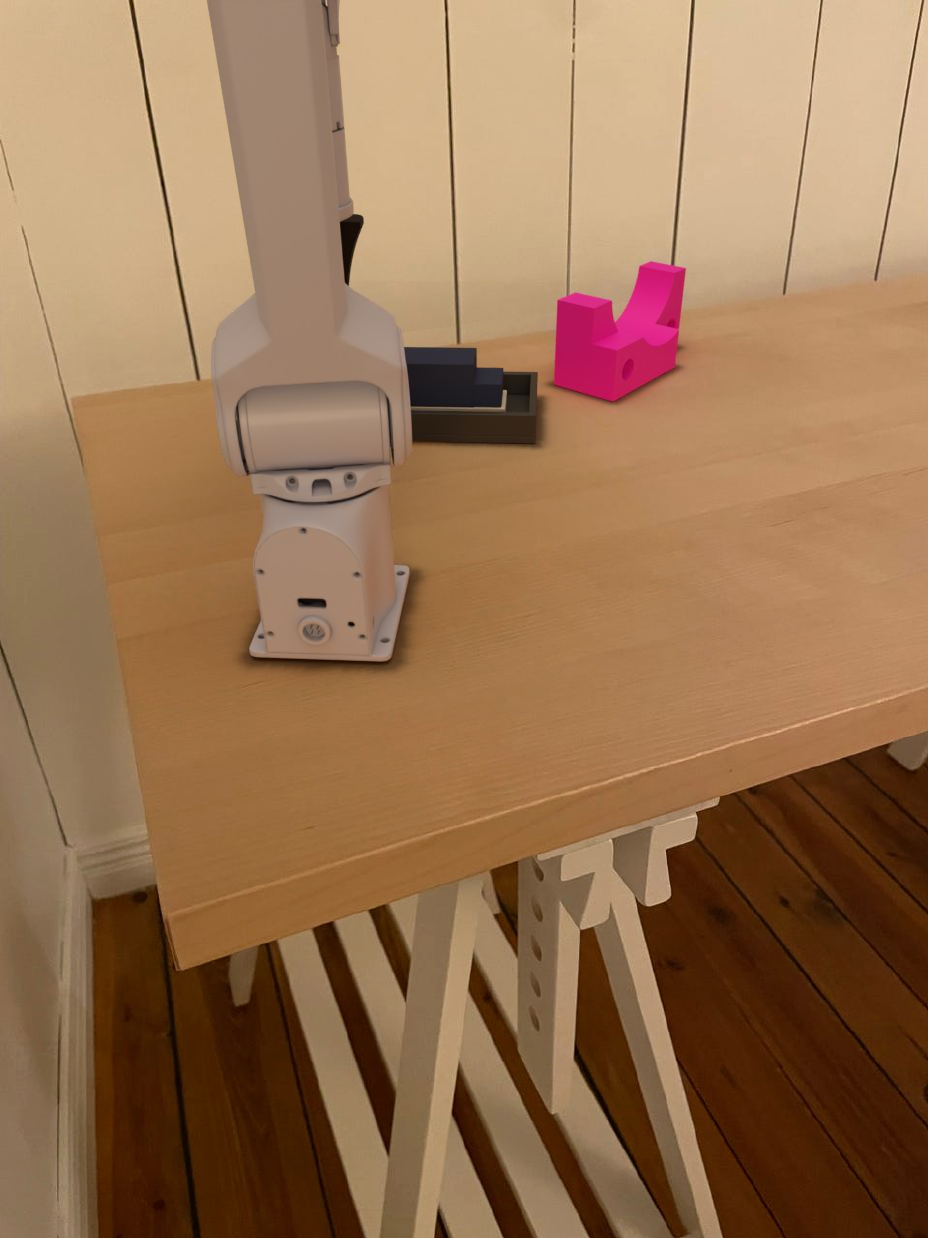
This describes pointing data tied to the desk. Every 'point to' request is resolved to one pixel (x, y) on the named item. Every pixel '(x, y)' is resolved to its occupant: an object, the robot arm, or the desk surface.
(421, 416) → the tray
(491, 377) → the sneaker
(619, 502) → the desk surface
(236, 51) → the robot arm
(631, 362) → the toy block
